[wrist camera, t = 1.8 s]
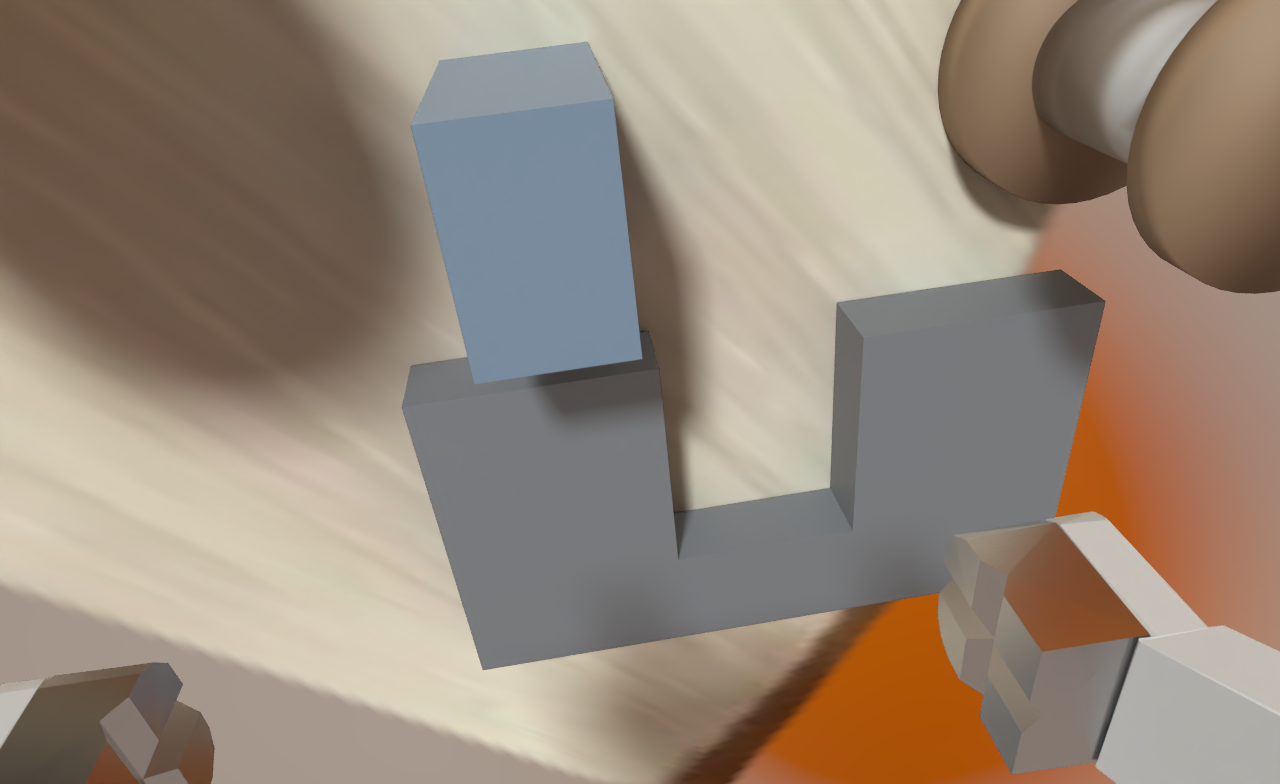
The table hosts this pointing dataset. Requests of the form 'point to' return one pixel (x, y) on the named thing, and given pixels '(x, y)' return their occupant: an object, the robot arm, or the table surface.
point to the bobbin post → (1131, 118)
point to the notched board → (760, 529)
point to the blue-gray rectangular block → (530, 210)
